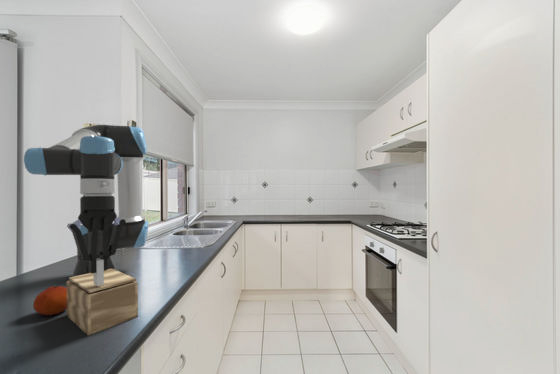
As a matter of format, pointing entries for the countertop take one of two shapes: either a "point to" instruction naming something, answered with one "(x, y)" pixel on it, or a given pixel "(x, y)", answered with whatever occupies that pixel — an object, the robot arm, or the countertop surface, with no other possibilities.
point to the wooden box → (101, 306)
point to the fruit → (51, 301)
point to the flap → (110, 280)
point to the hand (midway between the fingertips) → (98, 284)
